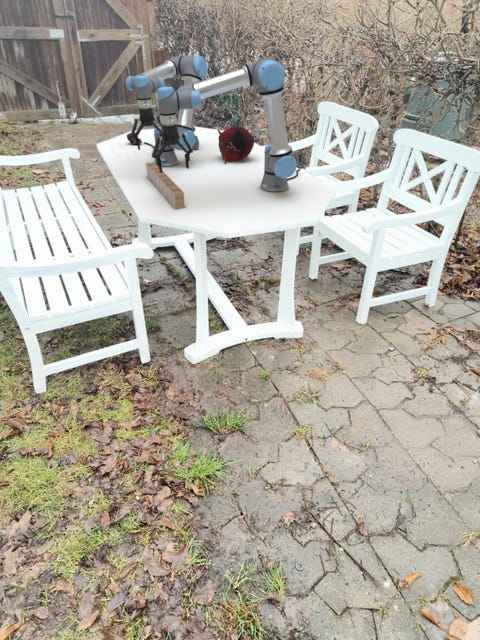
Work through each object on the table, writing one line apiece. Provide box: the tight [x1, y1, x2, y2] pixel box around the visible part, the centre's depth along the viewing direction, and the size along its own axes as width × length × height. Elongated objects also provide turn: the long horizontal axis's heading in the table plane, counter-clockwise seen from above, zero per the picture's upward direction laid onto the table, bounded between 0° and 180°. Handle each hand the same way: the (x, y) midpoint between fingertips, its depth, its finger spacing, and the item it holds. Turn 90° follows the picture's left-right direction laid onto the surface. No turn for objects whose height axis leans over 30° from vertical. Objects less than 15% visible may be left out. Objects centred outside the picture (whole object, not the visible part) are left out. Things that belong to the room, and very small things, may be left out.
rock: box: [126, 132, 143, 145], centre depth 336 cm, size 12×9×10 cm
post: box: [145, 161, 186, 210], centre depth 248 cm, size 59×5×8 cm, turn 23°
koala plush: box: [191, 123, 200, 151], centre depth 323 cm, size 17×18×20 cm
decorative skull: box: [217, 125, 255, 165], centre depth 297 cm, size 21×24×25 cm
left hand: (150, 147), depth 258 cm, fingers open, 13 cm apart
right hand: (174, 170), depth 222 cm, fingers open, 13 cm apart
